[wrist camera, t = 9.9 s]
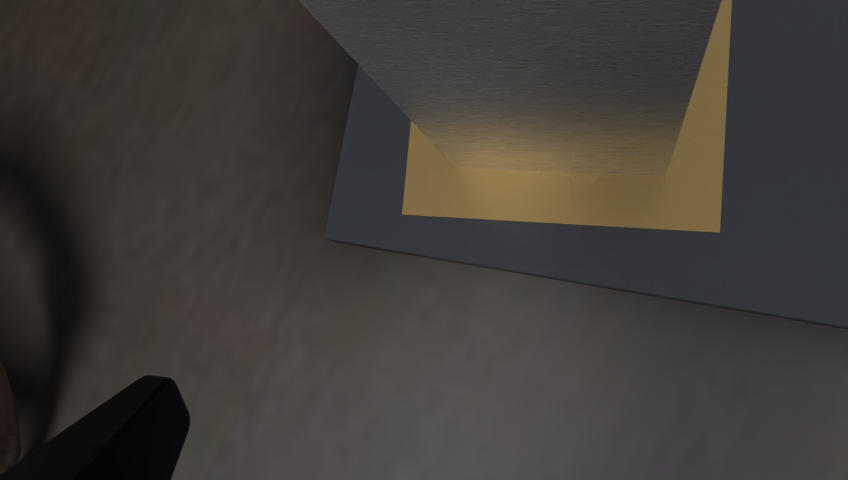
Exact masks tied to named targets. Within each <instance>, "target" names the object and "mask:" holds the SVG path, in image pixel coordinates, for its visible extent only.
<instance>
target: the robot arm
mask: <svg viewBox="0 0 848 480" xmlns="http://www.w3.org/2000/svg"><path fill="white" fill-rule="evenodd" d="M189 426H190V415H189V412H188V409H187V407H186V405H185V403H184V400H183V398H182V396H181V393H180V391H179V389H178V387H177V384H176V383H175V381H174V380H172V379H171V378H168V377H161V376H153V375H148V376H144V377H142V378H140V379H138V380H137V381H135V382H134V383H132V384H131V385H129V386H128V387H127V388H125V389H124V390H122V391H121V392H119V393H118V394H116V395H115V396H113V397H112V398H110V399H109V400H108V401H106V402H105V403H103V404H102V405H100V406H99V407H97V408H96V409H94V410H93V411H92V412H90V413H89V414H87V415H86V416H84V417H83V418H81V419H80V420H78V421H77V422H75V423H74V424H73V425H71V426H70V427H68V428H67V429H65V430H64V431H62V432H61V433H59V434H58V435H57V436H55V437H54V438H52V439H51V440H49V441H48V442H46V443H45V444H43V445H42V446H41V447H39V448H38V449H36V450H35V451H33V452H32V453H30V454H29V455H27V456H26V457H24V458H23V459H22V460H20V461H19V462H17V463H16V464H14V465H13V466H11V467H10V468H8V469H7V470H6V471H4V472H3V473H1V474H0V480H171V478H172V475H173V472H174V470H175V467H176V464H177V461H178V459H179V456H180V453H181V450H182V448H183V445H184V442H185V439H186V436H187V434H188V431H189Z"/></svg>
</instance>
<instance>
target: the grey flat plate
mask: <svg viewBox="0 0 848 480" xmlns="http://www.w3.org/2000/svg"><path fill="white" fill-rule="evenodd" d="M324 238H325V239H328V240H331V241H333V242H338V243H344V244H350V245H356V246H361V247H367V248H373V249H379V250H385V251H391V252H397V253H403V254H408V255H414V256H420V257H426V258H432V259H438V260H444V261H450V262H455V263H461V264H467V265H473V266H479V267H485V268H491V269H497V270H503V271H508V272H514V273H520V274H526V275H532V276H538V277H544V278H550V279H555V280H561V281H567V282H573V283H579V284H585V285H591V286H597V287H602V288H608V289H614V290H620V291H626V292H632V293H638V294H644V295H649V296H655V297H661V298H667V299H673V300H679V301H685V302H691V303H697V304H702V305H708V306H714V307H720V308H726V309H732V310H738V311H744V312H749V313H755V314H761V315H767V316H773V317H779V318H785V319H791V320H796V321H802V322H808V323H814V324H820V325H826V326H832V327H838V328H844V329H848V0H722V1H721V5H720V8H719V11H718V14H717V17H716V20H715V23H714V26H713V30H712V33H711V36H710V39H709V42H708V45H707V48H706V51H705V55H704V58H703V61H702V64H701V67H700V70H699V73H698V77H697V80H696V83H695V86H694V89H693V92H692V95H691V98H690V102H689V105H688V108H687V111H686V114H685V117H684V120H683V124H682V127H681V130H680V133H679V136H678V139H677V142H676V145H675V149H674V152H673V155H672V158H671V161H670V164H669V167H668V170H667V174H666V176H658V175H632V174H605V173H579V172H552V171H526V170H499V169H473V168H455V167H454V166H453V165H452V164H451V163H450V162H449V161H448V159H447V158H446V157H445V156H444V155H443V154H442V153H441V152H440V151H439V150H438V149H437V148H436V147H435V146H434V145H433V143H432V142H431V141H430V140H429V139H428V138H427V137H426V136H425V135H424V134H423V133H422V132H421V131H420V130H419V128H418V127H417V126H416V125H415V124H414V123H413V122H412V121H411V120H410V119H409V118H408V117H407V116H406V115H405V114H404V112H403V111H402V110H401V109H400V108H399V107H398V106H397V105H396V104H395V103H394V102H393V101H392V100H391V99H390V98H389V96H388V95H387V94H386V93H385V92H384V91H383V90H382V89H381V88H380V87H379V86H378V85H377V84H376V83H375V82H374V80H373V79H372V78H371V77H370V76H369V75H368V74H367V73H366V72H365V71H364V70H363V69H362V68H361V67H360V65H359V64H358V67H357V72H356V78H355V83H354V88H353V93H352V98H351V103H350V108H349V113H348V118H347V123H346V128H345V133H344V138H343V143H342V148H341V153H340V158H339V164H338V169H337V174H336V179H335V184H334V189H333V194H332V199H331V204H330V209H329V214H328V219H327V224H326V229H325V234H324Z"/></svg>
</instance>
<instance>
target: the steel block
mask: <svg viewBox="0 0 848 480" xmlns="http://www.w3.org/2000/svg"><path fill="white" fill-rule="evenodd" d="M299 1H300V2H301V4H302V5H303V6H304V7H305V8H306V9H307V10H308V11H309V12H310V13H311V14H312V15H313V16H314V17H315V18H316V20H317V21H318V22H319V23H320V24H321V25H322V26H323V27H324V28H325V29H326V30H327V31H328V32H329V33H330V35H331V36H332V37H333V38H334V39H335V40H336V41H337V42H338V43H339V44H340V45H341V46H342V47H343V48H344V49H345V51H346V52H347V53H348V54H349V55H350V56H351V57H352V58H353V59H354V60H355V61H356V62H357V63H358V64H359V65H360V67H361V68H362V69H363V70H364V71H365V72H366V73H367V74H368V75H369V76H370V77H371V78H372V79H373V80H374V82H375V83H376V84H377V85H378V86H379V87H380V88H381V89H382V90H383V91H384V92H385V93H386V94H387V95H388V96H389V98H390V99H391V100H392V101H393V102H394V103H395V104H396V105H397V106H398V107H399V108H400V109H401V110H402V111H403V112H404V114H405V115H406V116H407V117H408V118H409V119H410V120H411V121H412V122H413V123H414V124H415V125H416V126H417V127H418V128H419V130H420V131H421V132H422V133H423V134H424V135H425V136H426V137H427V138H428V139H429V140H430V141H431V142H432V143H433V145H434V146H435V147H436V148H437V149H438V150H439V151H440V152H441V153H442V154H443V155H444V156H445V157H446V158H447V159H448V161H449V162H450V163H451V164H452V165H453V166H454V167H455V168H473V169H499V170H526V171H552V172H579V173H605V174H632V175H658V176H666V174H667V170H668V167H669V164H670V161H671V158H672V155H673V152H674V149H675V145H676V142H677V139H678V136H679V133H680V130H681V127H682V124H683V120H684V117H685V114H686V111H687V108H688V105H689V102H690V98H691V95H692V92H693V89H694V86H695V83H696V80H697V77H698V73H699V70H700V67H701V64H702V61H703V58H704V55H705V51H706V48H707V45H708V42H709V39H710V36H711V33H712V30H713V26H714V23H715V20H716V17H717V14H718V11H719V8H720V5H721V1H722V0H299Z"/></svg>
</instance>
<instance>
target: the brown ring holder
mask: <svg viewBox="0 0 848 480" xmlns="http://www.w3.org/2000/svg"><path fill="white" fill-rule="evenodd" d="M20 453H21V444H20V437H19V425H18V418H17V414H16V409H15V404H14V399H13V396H12V389H11V385H10V382H9V378H8V376H7V372H6V369H5V366H4V364H3V362H2V359H1V358H0V474H1V473H3V472H4V471H6V470H7V469H8V468H10V467H11V466H12V465H14V464H15V463H16V462H17V461H18V459H19V456H20Z"/></svg>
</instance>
